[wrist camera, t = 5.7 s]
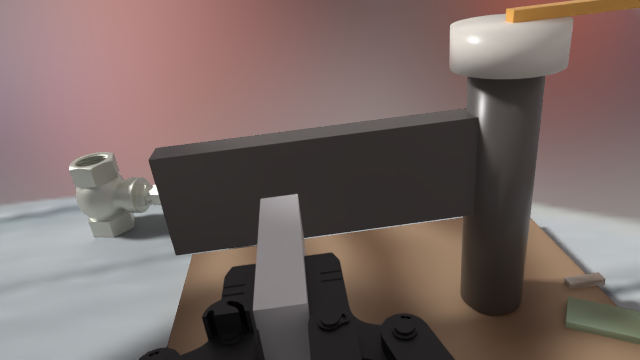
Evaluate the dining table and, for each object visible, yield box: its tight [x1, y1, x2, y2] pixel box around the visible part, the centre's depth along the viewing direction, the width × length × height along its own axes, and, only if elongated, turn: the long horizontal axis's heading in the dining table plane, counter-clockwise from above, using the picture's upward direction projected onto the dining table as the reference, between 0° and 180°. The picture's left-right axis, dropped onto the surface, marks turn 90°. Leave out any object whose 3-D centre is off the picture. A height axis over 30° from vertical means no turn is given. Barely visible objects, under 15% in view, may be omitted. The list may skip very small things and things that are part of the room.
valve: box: [69, 152, 161, 238], centre depth 39 cm, size 7×7×12 cm
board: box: [167, 218, 640, 360], centre depth 28 cm, size 24×14×2 cm, turn 95°
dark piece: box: [149, 0, 640, 315], centre depth 23 cm, size 22×5×15 cm, turn 95°
